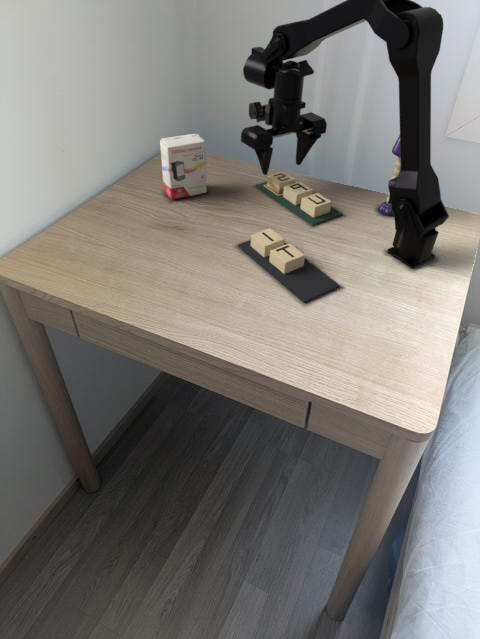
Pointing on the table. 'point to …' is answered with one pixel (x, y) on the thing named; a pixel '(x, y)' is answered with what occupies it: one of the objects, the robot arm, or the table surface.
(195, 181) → the ink box
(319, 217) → the far word mat
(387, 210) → the toy lamp
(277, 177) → the tile
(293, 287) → the near word mat
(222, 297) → the table surface
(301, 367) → the table surface
